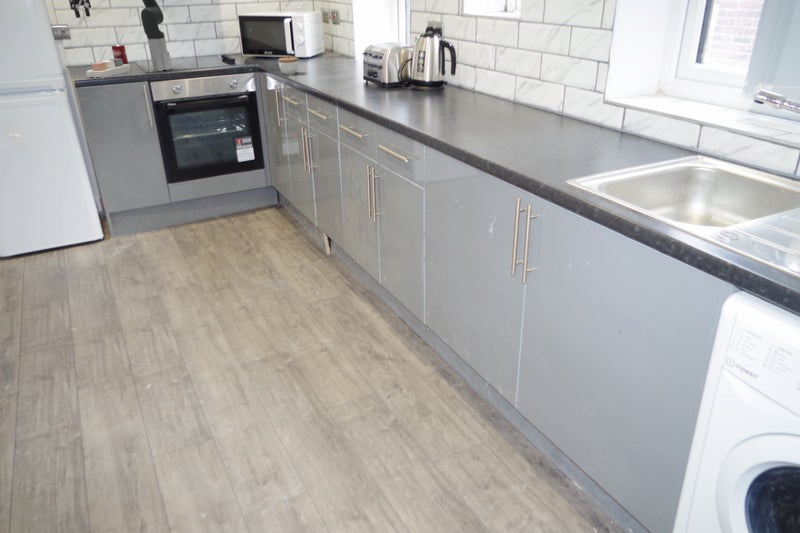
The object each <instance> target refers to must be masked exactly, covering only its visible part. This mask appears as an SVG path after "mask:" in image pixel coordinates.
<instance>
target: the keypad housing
mask: <svg viewBox="0 0 800 533" xmlns="http://www.w3.org/2000/svg"><path fill="white" fill-rule="evenodd" d="M128 72H132V68H131V64H123V66H119V67H115V68H111V69H107V70H103V71H93V69H90V70H89V69H88V70H86V71H85V74H86V78H87V77H107V78H109V77H108V76H110V77H114V76H117V74H118V75H121V74H125V73H128ZM113 75H114V76H113Z"/></svg>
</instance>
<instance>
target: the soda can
mask: <svg viewBox="0 0 800 533" xmlns="http://www.w3.org/2000/svg"><path fill="white" fill-rule="evenodd" d="M111 51H112V55H113V59H122V61H123V64H129V60H128V55H127V54H128V53H127V50H126V46H125V44H112V45H111ZM129 65H130V64H129Z"/></svg>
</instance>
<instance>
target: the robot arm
mask: <svg viewBox="0 0 800 533" xmlns="http://www.w3.org/2000/svg"><path fill="white" fill-rule="evenodd" d="M68 1H69V7H70V10H72V11H74V15H75V17H76V19H80V18H81V15H80V10H79V9H80V7H83V9H84V13H85V16H86V17H88V18H89V17H91V13H90V9H91V8H92V6H91V1H90V0H68ZM141 1H142V2H143V4H144V5H143V6H144V7H143V9H142V10H141V12H140V19H141V23H142V28H143V31H144V34H145V35H146V38H147V43H148V44H147V45H148V47H149V53H150V58H151V63H152V67H153V69H152V70H153V71H154V70H155V71H154V72H164V71H163V70H167V71H171V70H173V66H172V61H171V56H170V52H169V51H168V47H167V43H166V38H165V36H166V35H165V32H163V31H162V30H160V27H159V25H161V24H162V23H163V22H164V19H165V17H164V13H163V11H162V9H161V7H160V6H159V3H158V2H157V1H156V0H141Z"/></svg>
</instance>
